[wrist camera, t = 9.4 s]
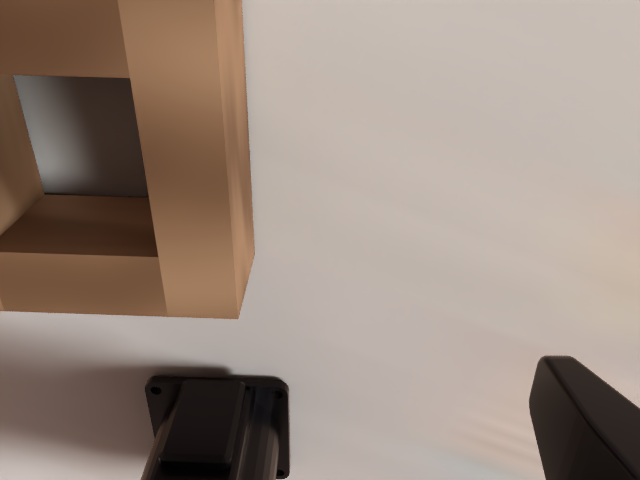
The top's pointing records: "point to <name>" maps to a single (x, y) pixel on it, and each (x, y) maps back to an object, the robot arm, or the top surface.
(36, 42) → the pin mount
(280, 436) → the robot arm
